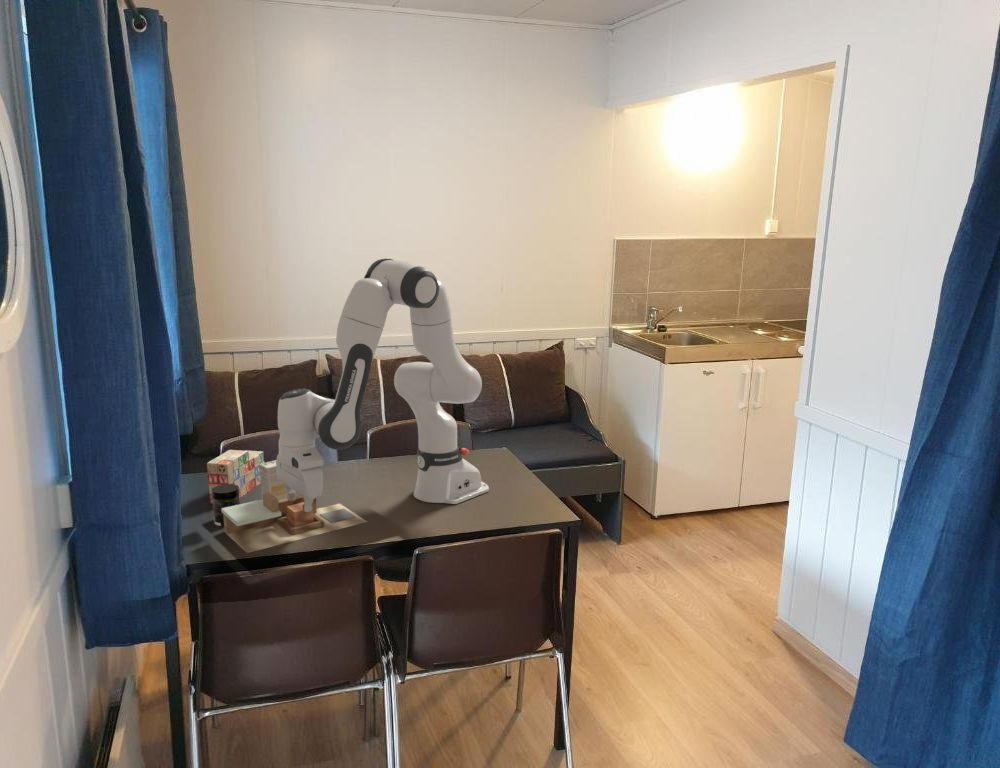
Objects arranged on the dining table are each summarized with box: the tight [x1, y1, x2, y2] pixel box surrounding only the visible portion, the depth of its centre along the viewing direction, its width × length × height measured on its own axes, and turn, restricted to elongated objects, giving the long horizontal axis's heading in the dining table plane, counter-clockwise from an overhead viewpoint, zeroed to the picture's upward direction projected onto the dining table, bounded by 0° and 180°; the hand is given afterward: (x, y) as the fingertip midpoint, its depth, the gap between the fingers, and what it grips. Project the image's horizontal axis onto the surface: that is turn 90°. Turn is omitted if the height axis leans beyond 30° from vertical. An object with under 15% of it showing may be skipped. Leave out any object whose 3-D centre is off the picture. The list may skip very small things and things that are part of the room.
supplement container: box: [212, 484, 241, 527], centre depth 202 cm, size 7×7×10 cm
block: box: [287, 502, 314, 527], centre depth 200 cm, size 5×5×5 cm
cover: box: [221, 493, 281, 526], centre depth 193 cm, size 11×11×4 cm
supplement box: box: [259, 459, 297, 500], centre depth 215 cm, size 8×5×13 cm, turn 134°
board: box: [223, 494, 368, 554], centre depth 200 cm, size 32×16×7 cm, turn 128°
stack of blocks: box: [206, 449, 266, 505], centre depth 227 cm, size 21×6×12 cm, turn 170°
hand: (299, 505), depth 199 cm, fingers open, 8 cm apart
